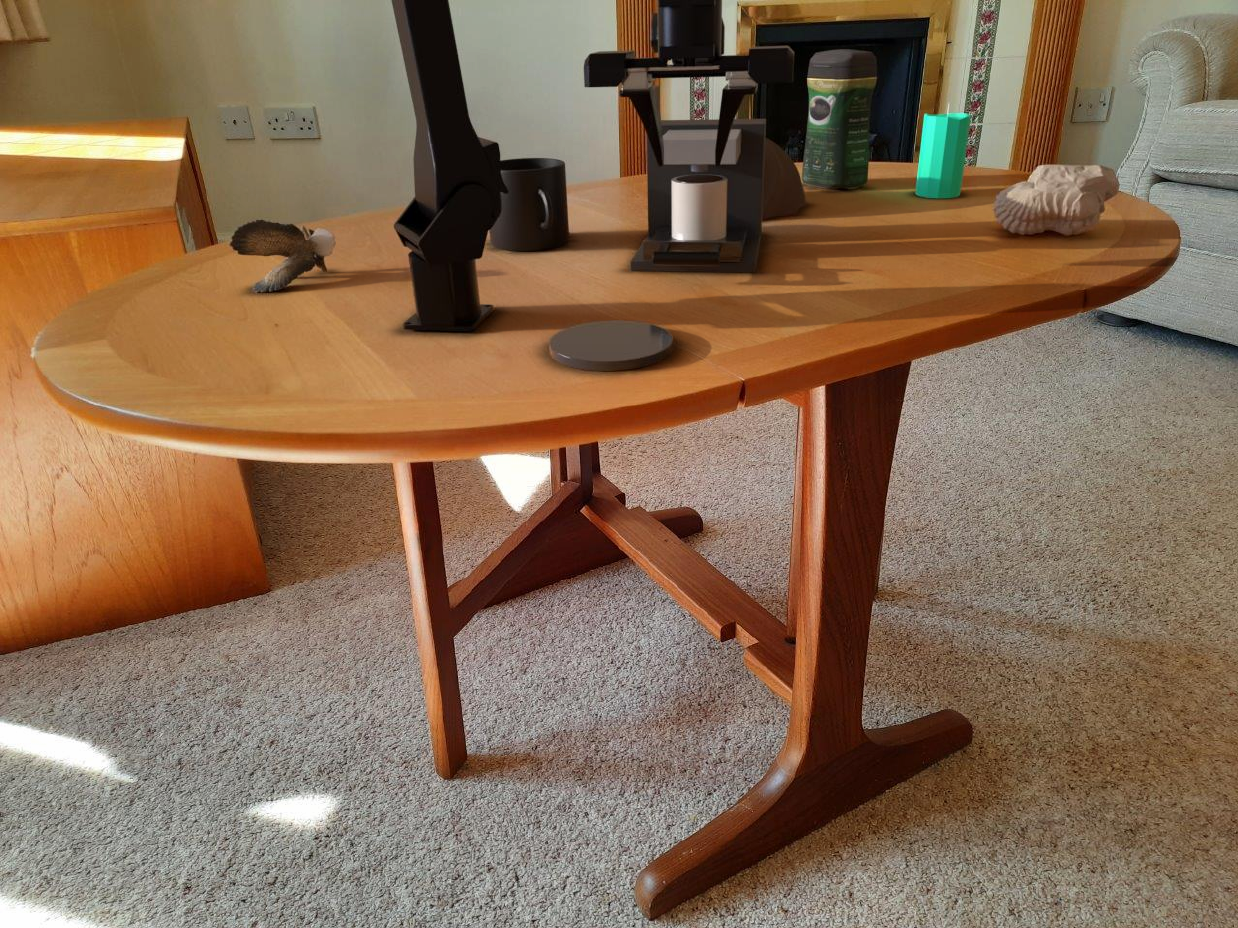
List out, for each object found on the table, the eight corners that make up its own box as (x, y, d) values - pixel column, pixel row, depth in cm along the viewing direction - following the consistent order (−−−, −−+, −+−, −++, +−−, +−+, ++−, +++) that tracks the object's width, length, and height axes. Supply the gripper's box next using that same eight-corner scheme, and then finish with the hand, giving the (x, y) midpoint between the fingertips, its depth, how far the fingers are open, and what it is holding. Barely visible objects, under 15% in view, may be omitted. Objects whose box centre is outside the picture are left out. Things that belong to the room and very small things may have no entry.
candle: (915, 197, 123) (925, 105, 117) (915, 190, 128) (925, 100, 123) (960, 198, 121) (974, 104, 116) (959, 191, 126) (972, 100, 121)
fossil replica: (976, 229, 106) (1024, 256, 98) (985, 158, 101) (1036, 179, 93) (1068, 214, 107) (1124, 239, 99) (1081, 143, 103) (1140, 162, 95)
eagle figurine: (291, 255, 99) (219, 259, 92) (313, 203, 96) (239, 202, 88) (332, 300, 98) (261, 307, 90) (355, 248, 94) (283, 251, 86)
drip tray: (736, 275, 85) (737, 253, 84) (634, 274, 87) (634, 252, 86) (746, 234, 101) (747, 214, 100) (659, 233, 103) (659, 214, 102)
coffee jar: (876, 187, 131) (889, 48, 123) (835, 193, 128) (846, 51, 119) (832, 178, 139) (841, 47, 130) (792, 184, 135) (799, 50, 127)
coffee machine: (755, 272, 91) (760, 139, 85) (630, 270, 93) (627, 140, 88) (761, 234, 106) (766, 118, 101) (654, 233, 109) (652, 120, 103)
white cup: (724, 242, 94) (725, 183, 92) (668, 241, 95) (667, 183, 93) (728, 229, 100) (729, 174, 97) (675, 229, 101) (674, 174, 98)
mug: (514, 261, 99) (506, 176, 95) (480, 240, 108) (472, 162, 104) (591, 249, 102) (587, 168, 98) (551, 230, 112) (546, 155, 108)
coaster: (664, 373, 67) (664, 363, 66) (535, 369, 69) (535, 359, 68) (679, 330, 76) (679, 321, 75) (565, 327, 77) (565, 318, 77)
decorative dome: (820, 196, 126) (825, 121, 121) (782, 226, 110) (786, 141, 105) (692, 190, 133) (692, 119, 129) (639, 217, 117) (637, 137, 113)
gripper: (798, -22, 83) (789, 152, 90) (603, -14, 86) (609, 154, 93) (798, -26, 73) (788, 170, 80) (578, -16, 77) (587, 172, 84)
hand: (689, 166), depth 85 cm, fingers open, 5 cm apart
